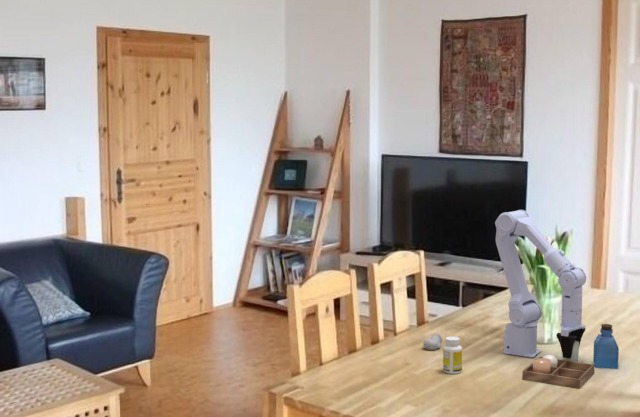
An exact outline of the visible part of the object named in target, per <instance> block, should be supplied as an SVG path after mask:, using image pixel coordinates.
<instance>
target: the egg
mask: <svg viewBox="0 0 640 417" xmlns="http://www.w3.org/2000/svg"><path fill="white" fill-rule="evenodd" d="M542 357H543V358H545V359H549V360H550V361H551V364H550V366H553V367H557V365H558V361H557V359H558V358H557V357H556V356H555V355H553V354H545V355H544V356H542Z"/></svg>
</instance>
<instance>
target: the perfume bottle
mask: <svg viewBox="0 0 640 417" xmlns="http://www.w3.org/2000/svg"><path fill="white" fill-rule="evenodd" d="M600 326H601V328H600V333H601V334H599V333H598V334H597V336H596V338H595V339H594V341H593V359H592V360H593V362H592V363H593V365H595V367H594V368H595V369H609V370H610V369H614V370H615V369H616V370H618V369H619V351H620V350H619V345H618V344H617V340H616V339H615V337H614V334H613V333H614V332H613V331H614V329H613V324H610V323H603V324H600Z"/></svg>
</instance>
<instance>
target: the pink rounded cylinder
mask: <svg viewBox="0 0 640 417" xmlns="http://www.w3.org/2000/svg"><path fill="white" fill-rule="evenodd" d="M532 363H533V372H537V373H543V374H550V364H551V361H550V360H549V359H545V358H539V357H536V358H535V357H534V358H533V359H532Z"/></svg>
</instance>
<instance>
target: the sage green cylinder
mask: <svg viewBox="0 0 640 417" xmlns="http://www.w3.org/2000/svg"><path fill="white" fill-rule="evenodd" d="M579 350H580V346H579V342H578V341H575V342H574V345H573V351H572V356H571V358H570V359H569V358H563V354H562V353H561V354H562V355H561V356H562V357H561V360H566V361H573V362H579V353H580V352H579Z"/></svg>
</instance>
